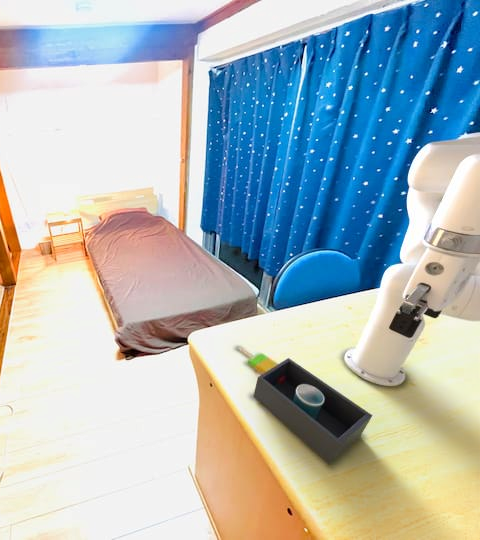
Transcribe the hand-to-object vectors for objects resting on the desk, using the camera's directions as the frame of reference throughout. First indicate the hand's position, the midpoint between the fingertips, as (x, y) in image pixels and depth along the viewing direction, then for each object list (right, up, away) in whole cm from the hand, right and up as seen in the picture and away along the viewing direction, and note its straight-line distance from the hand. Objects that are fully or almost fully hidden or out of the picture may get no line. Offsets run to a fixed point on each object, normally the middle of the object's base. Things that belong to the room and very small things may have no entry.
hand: (413, 323), depth 52 cm
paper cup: (-11, -25, +15) cm, 31 cm away
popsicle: (-14, -18, +29) cm, 37 cm away
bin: (-11, -25, +15) cm, 31 cm away
